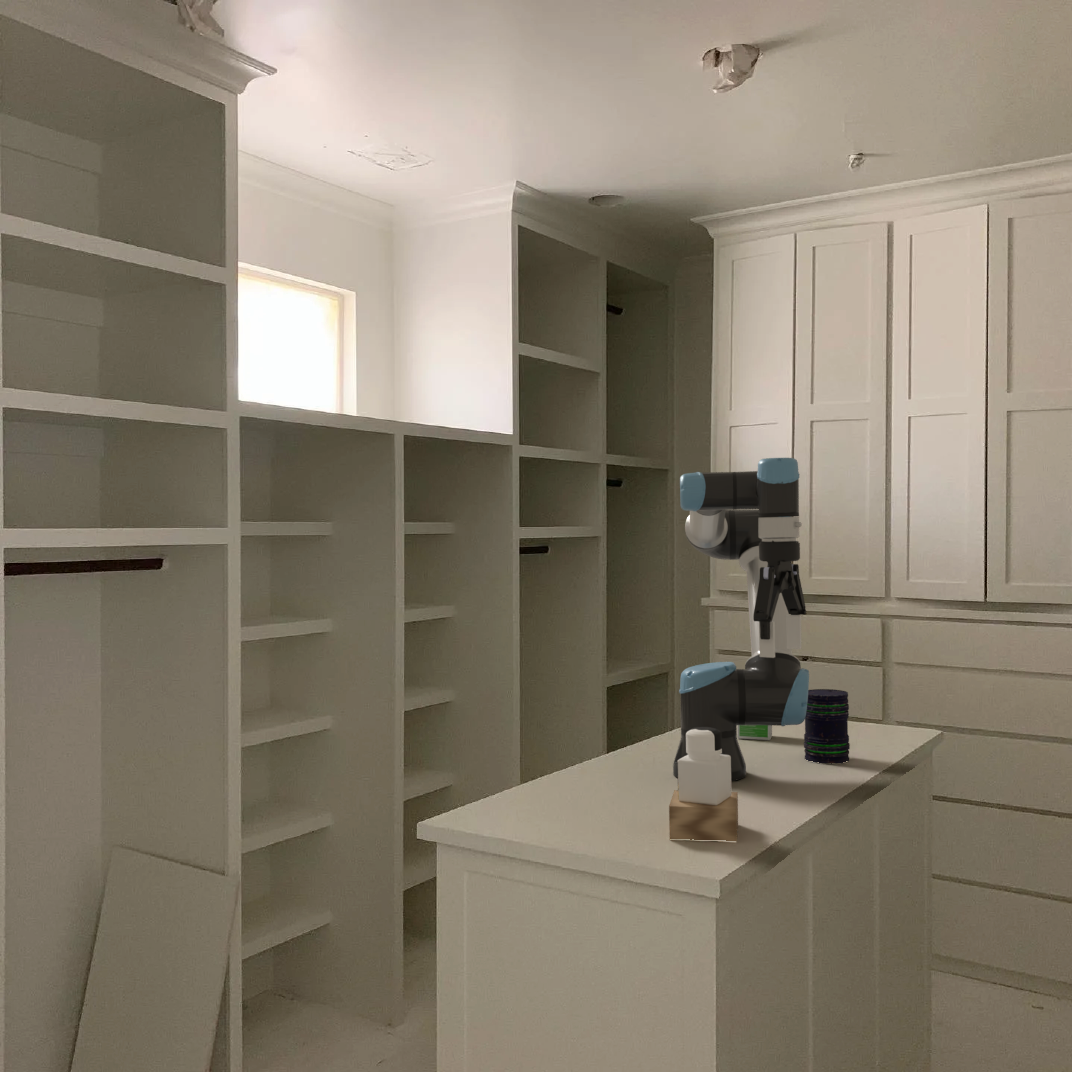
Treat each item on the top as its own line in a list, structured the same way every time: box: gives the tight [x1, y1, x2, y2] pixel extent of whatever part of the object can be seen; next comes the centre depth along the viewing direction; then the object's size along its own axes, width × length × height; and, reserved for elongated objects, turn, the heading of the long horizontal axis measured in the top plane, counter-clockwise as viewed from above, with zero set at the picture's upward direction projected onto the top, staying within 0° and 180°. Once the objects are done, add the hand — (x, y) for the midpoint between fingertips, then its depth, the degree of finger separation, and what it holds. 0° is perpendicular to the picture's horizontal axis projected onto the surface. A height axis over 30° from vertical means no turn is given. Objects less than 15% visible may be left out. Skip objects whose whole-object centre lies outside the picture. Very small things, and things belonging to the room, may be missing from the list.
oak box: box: [668, 789, 739, 842], centre depth 183 cm, size 11×11×6 cm
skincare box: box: [737, 725, 773, 741], centre depth 265 cm, size 8×7×16 cm
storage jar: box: [803, 688, 851, 765], centre depth 239 cm, size 10×10×15 cm
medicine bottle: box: [677, 727, 733, 806], centre depth 183 cm, size 7×7×12 cm
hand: (781, 653), depth 202 cm, fingers open, 13 cm apart
